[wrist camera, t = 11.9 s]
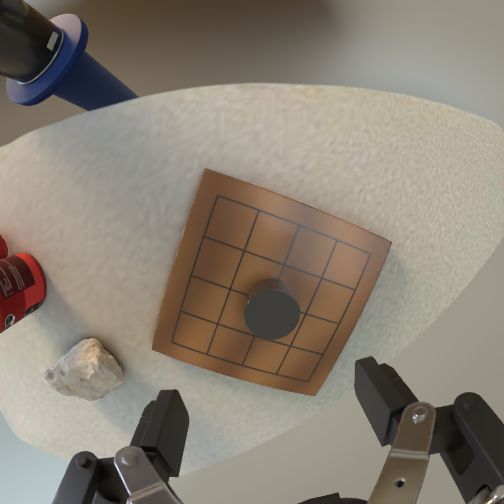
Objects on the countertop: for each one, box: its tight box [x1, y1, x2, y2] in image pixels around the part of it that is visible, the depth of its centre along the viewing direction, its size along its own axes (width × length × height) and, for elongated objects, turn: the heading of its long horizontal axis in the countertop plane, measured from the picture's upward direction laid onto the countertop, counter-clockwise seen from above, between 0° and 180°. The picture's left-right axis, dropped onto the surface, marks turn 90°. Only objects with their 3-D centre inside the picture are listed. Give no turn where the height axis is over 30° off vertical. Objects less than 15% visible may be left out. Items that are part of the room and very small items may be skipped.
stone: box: [43, 338, 126, 401], centre depth 26 cm, size 8×12×10 cm
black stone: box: [244, 279, 300, 340], centre depth 25 cm, size 5×5×3 cm
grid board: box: [152, 169, 392, 396], centre depth 27 cm, size 20×20×2 cm
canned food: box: [0, 253, 46, 333], centre depth 22 cm, size 8×8×11 cm
